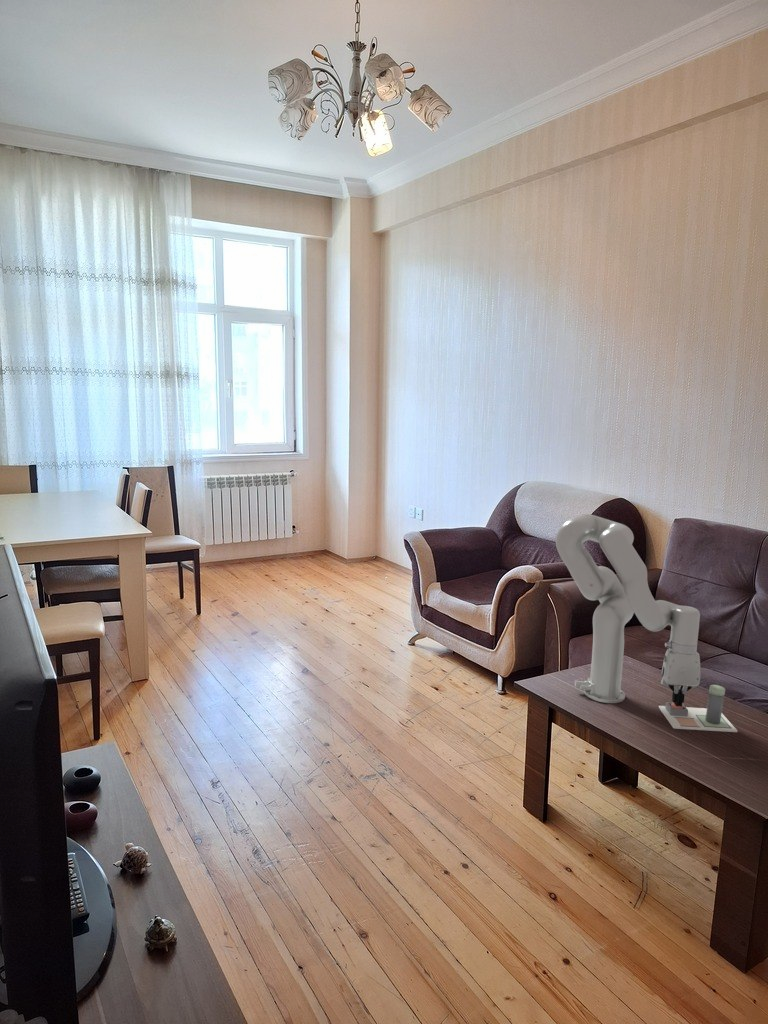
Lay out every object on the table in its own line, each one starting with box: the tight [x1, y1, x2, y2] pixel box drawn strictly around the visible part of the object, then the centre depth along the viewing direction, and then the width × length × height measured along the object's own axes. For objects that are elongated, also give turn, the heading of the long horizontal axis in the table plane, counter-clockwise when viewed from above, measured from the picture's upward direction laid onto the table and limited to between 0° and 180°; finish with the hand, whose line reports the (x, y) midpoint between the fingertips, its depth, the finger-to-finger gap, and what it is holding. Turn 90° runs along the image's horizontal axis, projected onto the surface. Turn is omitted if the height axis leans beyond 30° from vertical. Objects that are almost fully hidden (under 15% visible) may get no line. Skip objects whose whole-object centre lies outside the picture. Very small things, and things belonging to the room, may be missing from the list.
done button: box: [671, 701, 683, 709], centre depth 209 cm, size 3×3×2 cm
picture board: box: [658, 701, 738, 733], centre depth 205 cm, size 18×14×2 cm
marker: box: [705, 684, 726, 724], centre depth 202 cm, size 4×4×11 cm
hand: (677, 704), depth 208 cm, fingers closed
